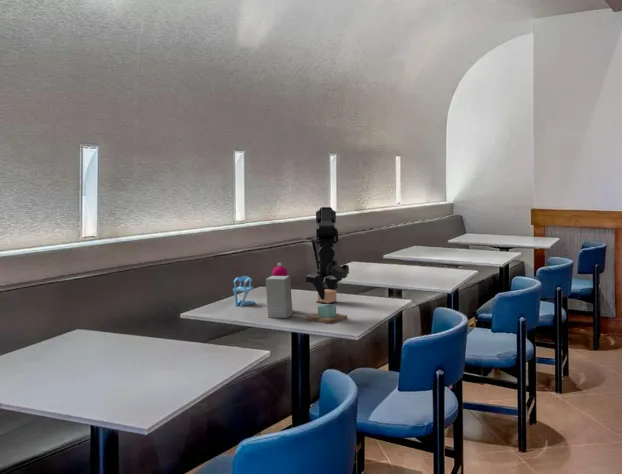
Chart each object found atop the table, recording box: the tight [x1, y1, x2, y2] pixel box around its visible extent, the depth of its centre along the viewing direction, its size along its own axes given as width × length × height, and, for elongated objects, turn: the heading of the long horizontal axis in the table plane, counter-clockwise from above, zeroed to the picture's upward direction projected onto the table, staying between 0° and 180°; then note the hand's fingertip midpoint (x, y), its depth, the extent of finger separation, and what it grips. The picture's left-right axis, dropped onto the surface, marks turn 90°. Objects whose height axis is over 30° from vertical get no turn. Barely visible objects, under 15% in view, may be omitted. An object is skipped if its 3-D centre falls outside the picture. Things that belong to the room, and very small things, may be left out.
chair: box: [232, 275, 256, 307], centre depth 259 cm, size 8×8×12 cm
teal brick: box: [317, 303, 337, 318], centre depth 230 cm, size 5×5×4 cm
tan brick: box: [317, 289, 337, 304], centre depth 230 cm, size 5×5×4 cm
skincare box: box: [265, 275, 293, 319], centre depth 235 cm, size 8×7×16 cm
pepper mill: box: [271, 262, 288, 276], centre depth 244 cm, size 7×7×20 cm
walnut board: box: [306, 312, 348, 325], centre depth 231 cm, size 11×11×1 cm
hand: (326, 298), depth 230 cm, fingers closed on tan brick, 5 cm apart
